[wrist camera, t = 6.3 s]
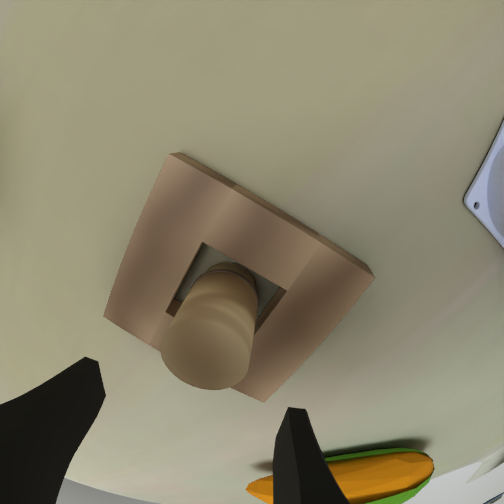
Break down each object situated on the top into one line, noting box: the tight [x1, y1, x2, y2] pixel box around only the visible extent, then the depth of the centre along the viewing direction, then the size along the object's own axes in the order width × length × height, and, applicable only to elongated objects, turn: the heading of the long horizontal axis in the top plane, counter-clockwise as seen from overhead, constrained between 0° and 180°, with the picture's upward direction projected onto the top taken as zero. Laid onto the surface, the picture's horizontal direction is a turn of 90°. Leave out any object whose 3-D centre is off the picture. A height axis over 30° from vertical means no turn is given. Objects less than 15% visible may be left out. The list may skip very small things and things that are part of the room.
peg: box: [160, 262, 259, 390], centre depth 16 cm, size 4×4×7 cm
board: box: [103, 152, 375, 402], centre depth 18 cm, size 13×12×2 cm
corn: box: [246, 448, 435, 504], centre depth 22 cm, size 7×8×20 cm
